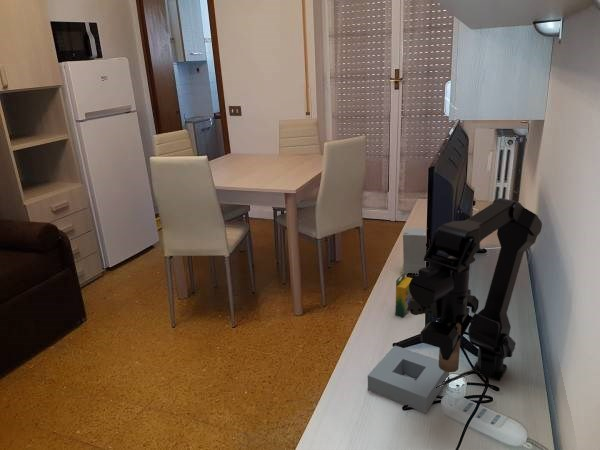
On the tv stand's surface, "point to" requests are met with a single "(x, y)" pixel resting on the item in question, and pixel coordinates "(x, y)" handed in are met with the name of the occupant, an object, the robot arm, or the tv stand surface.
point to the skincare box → (414, 249)
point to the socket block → (402, 388)
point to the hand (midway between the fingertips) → (449, 354)
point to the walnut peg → (451, 357)
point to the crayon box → (402, 295)
